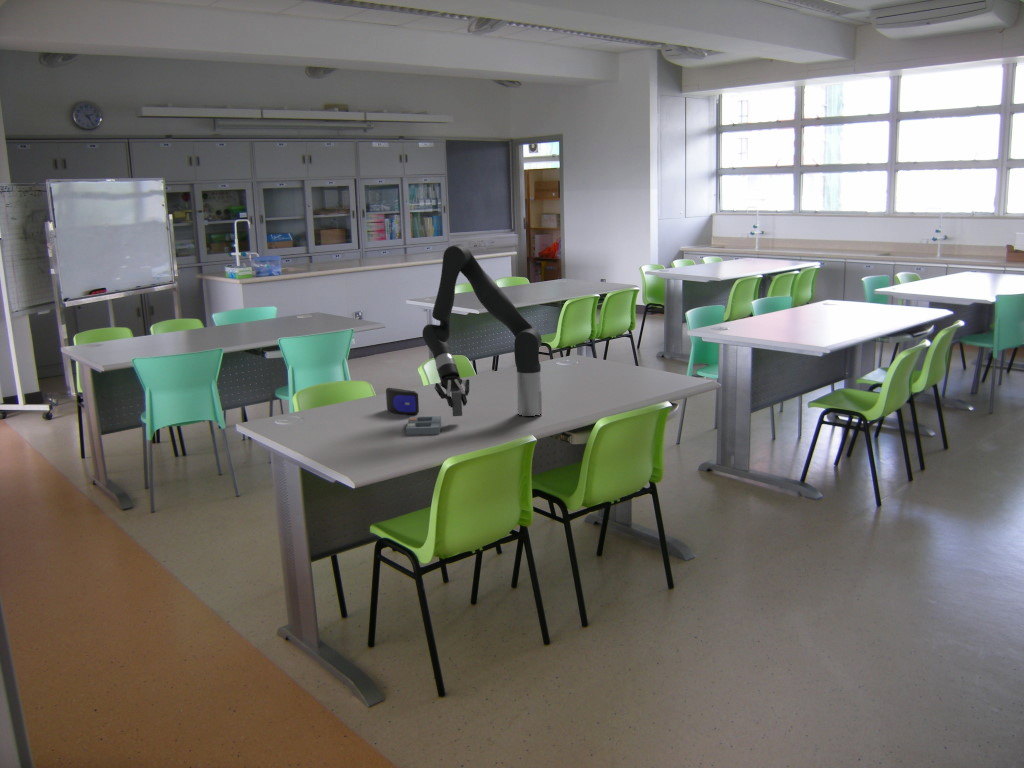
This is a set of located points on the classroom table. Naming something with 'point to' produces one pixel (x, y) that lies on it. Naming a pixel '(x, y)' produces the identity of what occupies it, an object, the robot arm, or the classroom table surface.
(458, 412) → the dark gray upright block
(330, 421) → the classroom table surface
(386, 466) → the classroom table surface
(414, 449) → the classroom table surface
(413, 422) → the socket strip
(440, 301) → the robot arm
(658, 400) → the classroom table surface
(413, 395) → the leaning round-cornered charcoal block
